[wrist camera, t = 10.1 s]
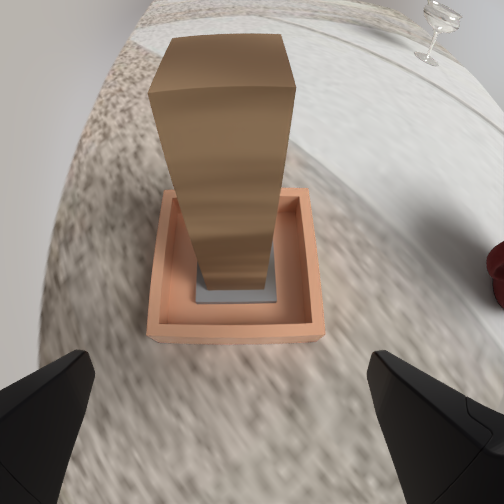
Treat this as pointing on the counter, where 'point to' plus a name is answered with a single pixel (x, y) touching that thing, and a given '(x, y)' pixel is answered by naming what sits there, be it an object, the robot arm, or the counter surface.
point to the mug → (497, 271)
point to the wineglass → (438, 25)
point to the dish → (238, 315)
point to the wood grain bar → (227, 154)
